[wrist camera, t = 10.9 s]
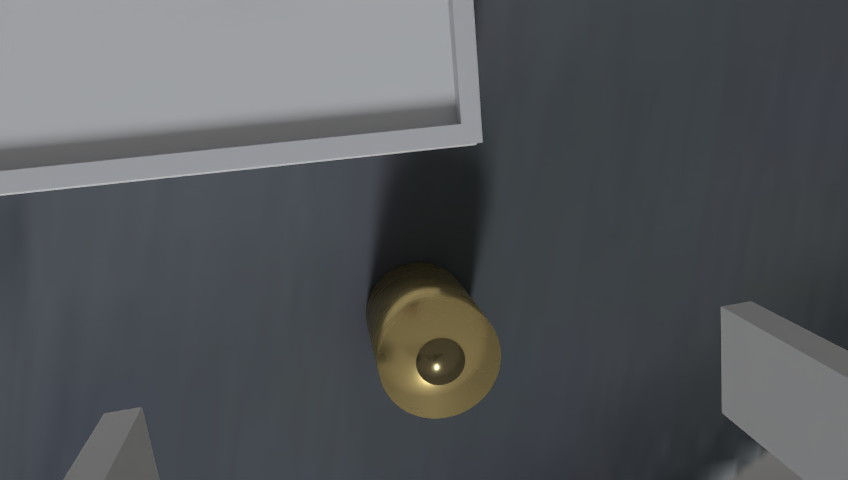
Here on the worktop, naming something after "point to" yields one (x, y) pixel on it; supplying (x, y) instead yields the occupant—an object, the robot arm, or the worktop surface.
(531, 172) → the worktop surface
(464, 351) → the brass spacer
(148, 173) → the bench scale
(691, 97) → the worktop surface
